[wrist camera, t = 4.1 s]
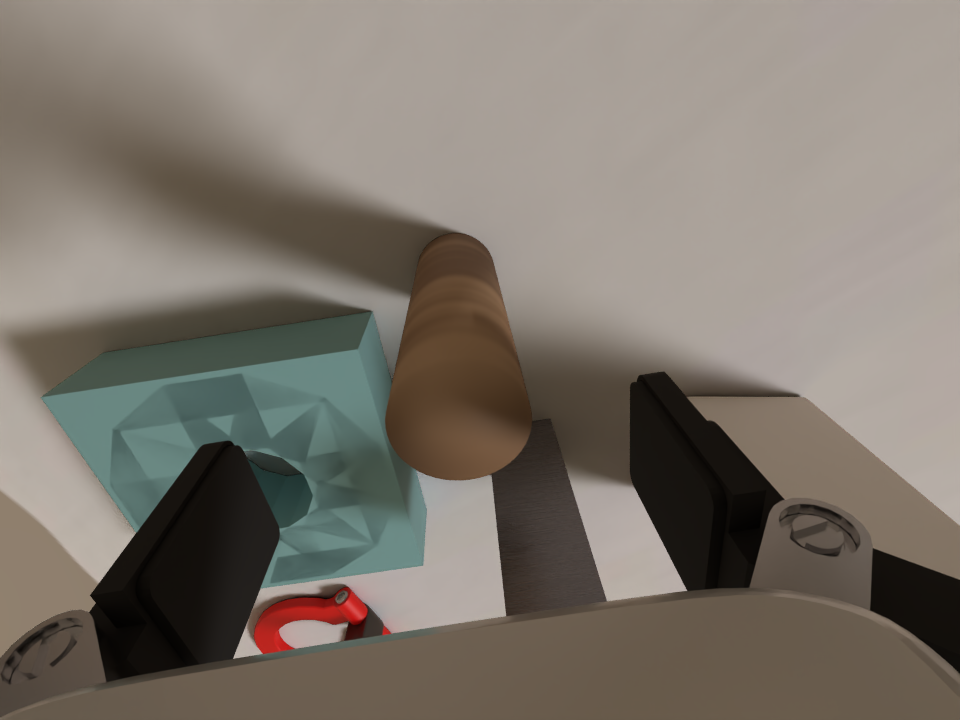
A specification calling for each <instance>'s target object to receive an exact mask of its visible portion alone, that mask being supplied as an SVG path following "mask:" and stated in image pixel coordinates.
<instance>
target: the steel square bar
mask: <svg viewBox="0 0 960 720" xmlns="http://www.w3.org/2000/svg"><path fill="white" fill-rule="evenodd" d="M491 474H492V483H493V493H494V503H495V512H496V522H497V531H498V541H499V550H500V560H501V570H502V579H503V589H504V598H505V608H506V616H511V615H518V614H525V613H532V612H538V611H545V610H552V609H558V608H565V607H572V606H579V605H585V604H592V603H599V602H606V601H607V600H606V597H605V594H604V590H603V587H602V584H601V581H600V577H599V574H598V571H597V568H596V564H595V561H594V558H593V555H592V552H591V548H590V545H589V542H588V539H587V535H586V532H585V529H584V526H583V522H582V519H581V516H580V513H579V509H578V506H577V503H576V500H575V497H574V493H573V490H572V487H571V484H570V480H569V477H568V474H567V471H566V467H565V464H564V461H563V458H562V455H561V451H560V448H559V445H558V442H557V438H556V435H555V432H554V429H553V425H552V422H551V419H546V420H539V421H532V426H531V432H530V435H529V438H528V440H527V442H526V444H525V446H524V447H523V449H522V451H521V452H520V453H519V454H518V455H517V457H516V458H515V459H513V460H512V461H511V462H510V463H509V464H507V465H506V466H505V467H503V468H501V469H500V470H498V471H496V472H494V473H491Z"/></svg>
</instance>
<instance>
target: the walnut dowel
mask: <svg viewBox="0 0 960 720" xmlns="http://www.w3.org/2000/svg"><path fill="white" fill-rule="evenodd" d="M531 426H532V412H531V407H530V403H529V399H528V395H527V391H526V387H525V384H524V380H523V376H522V372H521V368H520V364H519V360H518V356H517V352H516V349H515V345H514V341H513V337H512V333H511V329H510V325H509V321H508V317H507V313H506V310H505V306H504V302H503V298H502V294H501V290H500V286H499V282H498V278H497V275H496V271H495V267H494V263H493V260H492V257H491V255H490V253H489V251H488V250H487V248H486V247H485V246H484V245H483V244H482V243H481V242H480V241H478V240H477V239H475V238H473V237H471V236H469V235H466V234H460V233H451V234H446V235H442V236H440V237H438V238H436V239H434V240H433V241H431V242H430V243H429V244H428V245H427V246H426V247H425V249H424V250H423V252H422V253H421V255H420V258H419V261H418V265H417V270H416V274H415V279H414V284H413V288H412V293H411V298H410V302H409V307H408V312H407V316H406V321H405V326H404V330H403V335H402V340H401V344H400V349H399V353H398V358H397V363H396V367H395V372H394V377H393V381H392V386H391V391H390V395H389V400H388V405H387V409H386V416H385V428H386V433H387V436H388V439H389V442H390V444H391V446H392V447H393V449H394V451H395V452H396V453H397V454H398V456H399V457H400V458H401V459H402V460H403V461H404V462H405V463H407V464H408V465H409V466H411V467H412V468H414V469H416V470H417V471H419V472H421V473H424V474H426V475H429V476H432V477H435V478H440V479H445V480H470V479H475V478H480V477H483V476H486V475H489V474H491V473H494V472H496V471H498V470H500V469H501V468H503V467H505V466H506V465H507V464H509V463H510V462H511V461H512V460H513V459H515V458H516V457H517V455H518V454H519V453H520V452H521V451H522V449H523V447H524V446H525V444H526V442H527V440H528V438H529V435H530V432H531Z"/></svg>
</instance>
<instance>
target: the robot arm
mask: <svg viewBox="0 0 960 720" xmlns="http://www.w3.org/2000/svg"><path fill="white" fill-rule="evenodd" d="M630 475H631V479H632V483H633V485H634V487H635V489H636V491H637V493H638V495H639V497H640V499H641V501H642V503H643V505H644V507H645V509H646V511H647V513H648V515H649V517H650V519H651V521H652V523H653V525H654V526H655V528H656V530H657V532H658V534H659V536H660V538H661V540H662V542H663V544H664V546H665V548H666V550H667V552H668V554H669V556H670V558H671V560H672V562H673V564H674V566H675V568H676V570H677V572H678V573H679V575H680V577H681V579H682V581H683V583H684V585H685V587H686V589H687V591H683V592H674V593H667V594H659V595H652V596H644V597H636V598H629V599H621V600H614V601H606V602H599V603H592V604H585V605H579V606H572V607H565V608H558V609H552V610H545V611H538V612H532V613H525V614H518V615H511V616H505V617H498V618H491V619H485V620H478V621H471V622H465V623H458V624H452V625H445V626H439V627H432V628H426V629H419V630H413V631H406V632H400V633H393V634H387V635H381V636H374V637H368V638H361V639H355V640H348V641H342V642H336V643H329V644H323V645H317V646H311V647H304V648H298V649H292V650H286V651H279V652H273V653H267V654H261V655H255V656H248V657H242V658H236V659H233V657H234V654H235V652H236V649H237V647H238V644H239V642H240V639H241V637H242V634H243V631H244V629H245V626H246V624H247V621H248V619H249V616H250V614H251V611H252V608H253V606H254V603H255V601H256V598H257V596H258V593H259V591H260V588H261V585H262V583H263V580H264V578H265V575H266V573H267V570H268V568H269V565H270V562H271V560H272V557H273V555H274V552H275V550H276V547H277V545H278V542H279V538H280V529H279V525H278V523H277V521H276V519H275V517H274V515H273V512H272V510H271V508H270V506H269V504H268V502H267V500H266V498H265V495H264V493H263V491H262V489H261V487H260V485H259V483H258V481H257V479H256V476H255V474H254V472H253V470H252V468H251V466H250V464H249V462H248V460H247V457H246V455H245V453H244V451H243V449H242V448H241V447H240V446H239V445H234V443H233V442H231V441H228V440H227V441H221V442H215V443H208V444H204V445H202V446H201V447H200V448H199V449H198V450H197V452H196V453H195V455H194V456H193V457H192V459H191V460H190V461H189V463H188V464H187V465H186V467H185V468H184V469H183V471H182V472H181V473H180V475H179V476H178V477H177V479H176V480H175V481H174V483H173V484H172V486H171V487H170V488H169V490H168V491H167V492H166V494H165V495H164V496H163V498H162V499H161V500H160V502H159V503H158V504H157V506H156V507H155V508H154V510H153V511H152V513H151V514H150V515H149V517H148V518H147V519H146V521H145V522H144V523H143V525H142V526H141V527H140V529H139V530H138V531H137V533H136V534H135V535H134V537H133V538H132V540H131V541H130V542H129V544H128V545H127V546H126V548H125V549H124V550H123V552H122V553H121V554H120V556H119V557H118V558H117V560H116V561H115V562H114V564H113V565H112V567H111V568H110V569H109V571H108V572H107V573H106V575H105V576H104V577H103V579H102V580H101V581H100V583H99V584H98V585H97V587H96V588H95V590H94V591H93V592H92V594H91V595H90V596H91V597H92V599H93V600H94V601H95V602H96V604H95V605H94V607H93V608H92V609H91V611H90V612H87V611H84V610H72V611H67V612H64V613H61V614H58V615H56V616H53V617H51V618H49V619H47V620H46V621H43V622H42V623H40V624H39V625H37V626H35V627H34V628H33V629H31V630H30V631H28V632H27V633H25V634H24V635H23V636H22V637H21V638H19V639H18V640H17V641H16V642H15V643H14V644H13V645H11V647H10V648H9V649H8V650H7V651H6V652H5V653H4V655H2V657H1V658H0V720H960V580H959V579H957V578H954V577H951V576H948V575H946V574H943V573H940V572H937V571H935V570H932V569H929V568H926V567H924V566H921V565H918V564H915V563H913V562H910V561H907V560H904V559H902V558H899V557H896V556H893V555H891V554H888V553H885V552H882V551H880V550H877V549H874V548H873V545H872V540H871V536H870V534H869V532H868V531H867V530H866V528H865V527H864V525H863V524H862V523H861V522H860V521H858V520H857V519H856V518H855V517H854V516H853V515H851V514H850V513H848V512H846V511H844V510H843V509H841V508H839V507H837V506H835V505H832V504H829V503H827V502H824V501H820V500H815V499H810V498H791V499H786V500H785V499H784V498H783V497H782V496H781V495H780V494H779V493H778V491H777V490H776V489H775V488H774V487H773V486H772V485H771V483H770V482H769V481H768V480H767V479H766V478H765V477H764V476H763V474H762V473H761V472H760V471H759V470H758V469H757V468H756V467H755V465H754V464H753V463H752V462H751V461H750V460H749V459H748V458H747V456H746V455H745V454H744V453H743V452H742V451H741V450H740V449H739V447H738V446H737V445H736V444H735V443H734V442H733V441H732V440H731V438H730V437H729V436H728V435H727V434H726V433H725V432H724V430H723V429H722V428H721V427H720V426H719V425H718V424H717V423H716V422H714V421H711V420H709V421H707V420H706V419H705V418H704V417H703V415H702V414H701V413H700V412H699V411H698V410H697V408H696V407H695V406H694V405H693V404H692V403H691V402H690V400H689V399H688V398H687V397H686V396H685V395H684V393H683V392H682V391H681V390H680V389H679V388H678V386H677V385H676V384H675V383H674V382H673V381H672V379H671V378H670V377H669V376H668V375H667V374H666V373H665V372H657V373H650V374H644V375H639V376H638V379H637V382H633V383H631V386H630Z"/></svg>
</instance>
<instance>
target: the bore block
mask: <svg viewBox="0 0 960 720" xmlns="http://www.w3.org/2000/svg"><path fill="white" fill-rule="evenodd" d="M391 386H392V381H391V377H390V374H389V370H388V366H387V363H386V359H385V356H384V352H383V348H382V345H381V341H380V337H379V334H378V330H377V326H376V323H375V319H374V315H373V312H365V313H359V314H352V315H346V316H339V317H333V318H326V319H320V320H313V321H307V322H300V323H294V324H287V325H281V326H274V327H268V328H261V329H255V330H248V331H242V332H235V333H229V334H222V335H216V336H209V337H203V338H196V339H190V340H183V341H177V342H170V343H163V344H157V345H150V346H144V347H137V348H131V349H124V350H118V351H111V352H105V353H102V354H101V355H99V356H98V357H97V358H95V359H94V360H92V361H91V362H90V363H88V364H87V365H85V366H84V367H83V368H81V369H80V370H78V371H77V372H76V373H74V374H73V375H71V376H70V377H69V378H67V379H66V380H64V381H63V382H62V383H60V384H59V385H57V386H56V387H55V388H53V389H52V390H50V391H49V392H48V393H46V394H45V395H43V396H42V397H41V398H42V400H43V401H44V403H45V404H46V405H47V407H48V408H49V410H50V411H51V413H52V414H53V415H54V417H55V418H56V420H57V421H58V422H59V424H60V425H61V427H62V428H63V430H64V431H65V432H66V434H67V435H68V437H69V438H70V440H71V441H72V442H73V444H74V445H75V447H76V448H77V449H78V451H79V452H80V454H81V455H82V457H83V458H84V459H85V461H86V462H87V464H88V465H89V466H90V468H91V469H92V471H93V472H94V474H95V475H96V476H97V478H98V479H99V481H100V482H101V484H102V485H103V486H104V488H105V489H106V491H107V492H108V493H109V495H110V496H111V498H112V499H113V501H114V502H115V503H116V505H117V506H118V508H119V509H120V511H121V512H122V513H123V515H124V516H125V518H126V519H127V520H128V522H129V523H130V525H131V526H132V528H133V529H134V530H135V532H136V533H137V531H138V530H139V529H140V527H141V526H142V525H143V523H144V522H145V521H146V519H147V518H148V517H149V515H150V514H151V513H152V511H153V510H154V508H155V507H156V506H157V504H158V503H159V502H160V500H161V499H162V498H163V496H164V495H165V494H166V492H167V491H168V490H169V488H170V487H171V486H172V484H173V483H174V481H175V480H176V479H177V477H178V476H179V475H180V473H181V472H182V471H183V469H184V468H185V467H186V465H187V464H188V463H189V461H190V460H191V459H192V457H193V456H194V455H195V453H196V452H197V450H198V449H199V448H200V447H201V446H202V445H204V444H208V443H215V442H221V441H227V440H228V441H231V442H233V443H234V445H239V446H240V447H241V448H242V449H243V451H250V450H253V451H257V452H261V453H265V454H269V455H273V456H276V457H280V458H283V459H284V460H285V461H287V462H288V463H289V464H291V465H292V466H293V467H295V468H296V469H297V470H299V471H300V472H301V473H303V474H299V475H292V476H284V475H280V474H276V473H272V472H268V471H264V470H262V469H261V468H259V467H258V466H257V465H255V464H254V463H252V462H251V461H250V460H248V459H247V460H248V462H249V464H250V466H251V468H252V470H253V472H254V474H255V476H256V479H257V481H258V483H259V485H260V487H261V489H262V491H263V493H264V495H265V498H266V500H267V502H268V504H269V506H270V508H271V510H272V512H273V515H274V517H275V519H276V521H277V523H278V525H279V529H280V538H279V542H278V545H277V547H276V550H275V552H274V555H273V557H272V560H271V562H270V565H269V568H268V570H267V573H266V575H265V578H264V580H263V583H262V585H261V588H267V587H274V586H282V585H289V584H296V583H303V582H310V581H317V580H324V579H331V578H338V577H346V576H353V575H360V574H367V573H374V572H381V571H388V570H395V569H402V568H410V567H417V566H423V561H424V545H425V529H426V513H427V509H426V506H425V502H424V498H423V495H422V491H421V487H420V484H419V480H418V476H417V473H416V469H414V468H412V467H411V466H409V465H408V464H407V463H405V462H404V461H403V460H402V459H401V458H400V457H399V456H398V454H397V453H396V452H395V451H394V449H393V447H392V446H391V444H390V442H389V439H388V436H387V433H386V428H385V416H386V409H387V405H388V400H389V395H390V391H391Z"/></svg>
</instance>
